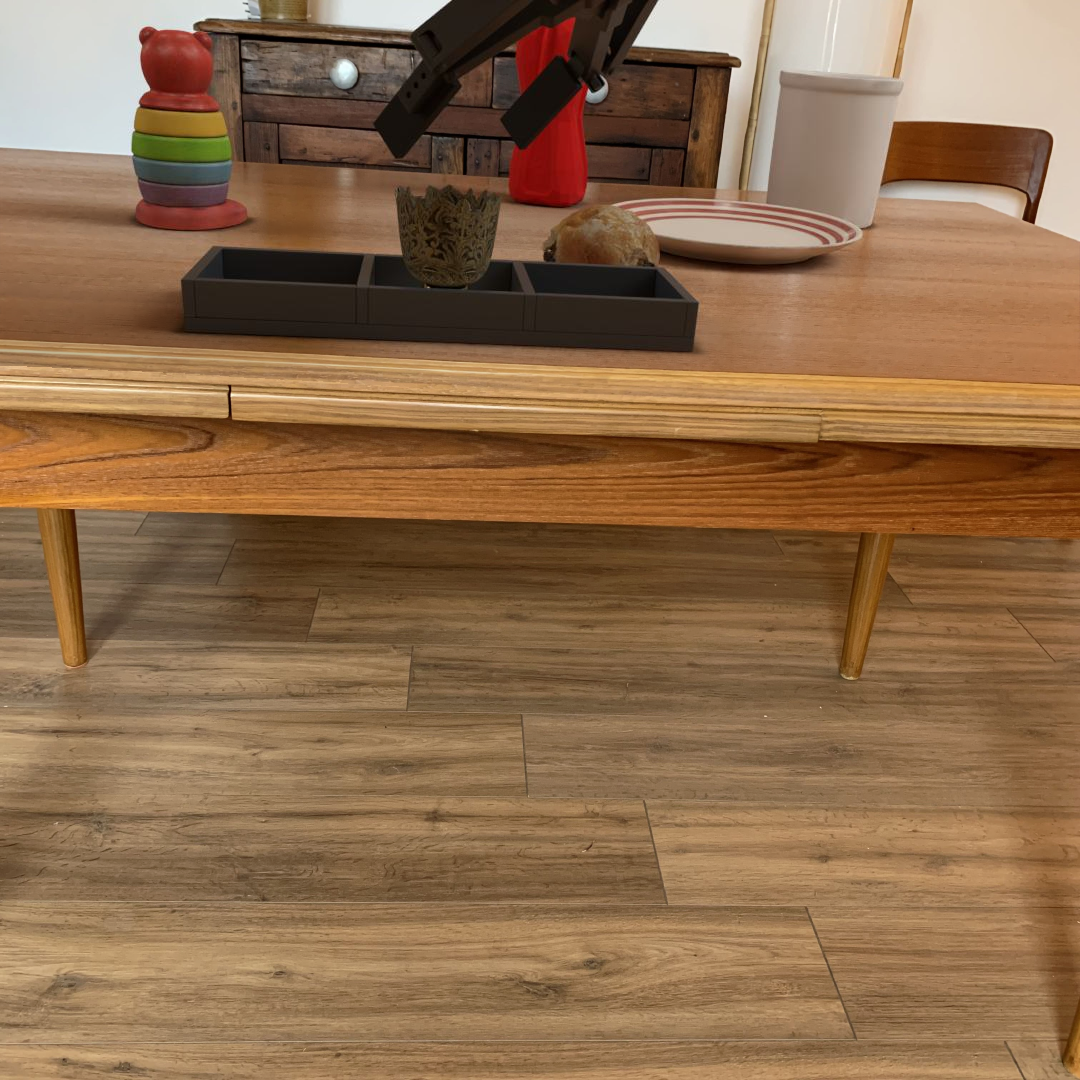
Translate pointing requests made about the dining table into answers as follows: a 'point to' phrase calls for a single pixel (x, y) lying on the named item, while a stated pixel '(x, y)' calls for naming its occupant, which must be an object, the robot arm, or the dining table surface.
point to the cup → (447, 235)
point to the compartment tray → (436, 301)
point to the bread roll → (602, 239)
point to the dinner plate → (741, 230)
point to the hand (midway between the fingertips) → (454, 138)
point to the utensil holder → (832, 142)
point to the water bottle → (550, 131)
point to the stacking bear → (181, 137)
